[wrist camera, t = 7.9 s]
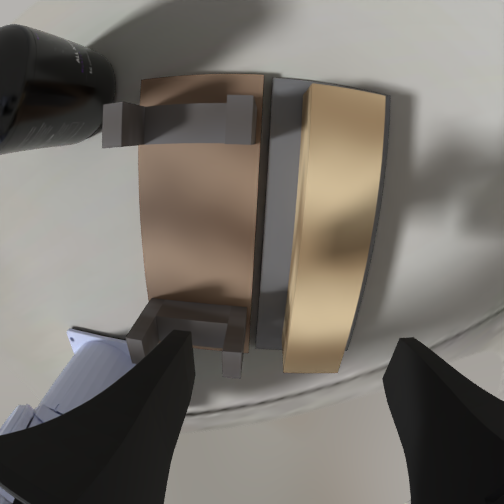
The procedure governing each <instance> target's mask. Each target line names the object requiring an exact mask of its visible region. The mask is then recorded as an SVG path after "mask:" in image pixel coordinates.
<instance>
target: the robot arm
mask: <svg viewBox="0 0 504 504" xmlns="http://www.w3.org/2000/svg"><path fill="white" fill-rule="evenodd" d="M67 335H68V338H69V341H70V344H71V346H72V349H73V352H74V356H73V357H72V358H71V360H70V361H69V363H68V364H67V365H66V367H65V368H64V369H63V371H62V372H61V374H60V375H59V376H58V378H57V379H56V381H55V382H54V383H53V385H52V386H51V388H50V389H49V390H48V392H47V393H46V395H45V396H44V398H43V399H42V401H41V402H40V404H39V405H38V407H37V408H35V409H33V408H32V407H31V406H30V405H28V404H26V405H18V406H17V407H16V408H15V409H14V411H13V412H12V413H11V414H10V416H9V417H8V418H7V420H6V421H5V422H4V424H3V425H2V427H1V428H0V504H164V498H165V492H166V486H167V480H168V474H169V469H170V464H171V460H172V456H173V452H174V449H175V445H176V443H177V440H178V437H179V433H180V430H181V427H182V424H183V421H184V418H185V415H186V412H187V409H188V406H189V403H190V400H191V395H192V390H193V384H194V379H195V367H194V357H193V346H192V334H191V331H182V330H172V331H171V332H170V333H169V334H168V335H167V336H166V337H165V338H164V339H163V340H162V341H161V342H160V343H159V344H158V345H157V346H156V347H155V348H154V349H153V350H152V351H150V352H149V353H148V354H147V355H146V356H145V357H144V358H143V359H142V360H141V361H140V362H139V363H137V364H133V363H132V361H131V357H130V354H129V350H128V346H127V342H126V340H120V339H115V338H110V337H105V336H101V335H96V334H92V333H87V332H83V331H79V330H75V329H68V330H67ZM383 384H384V389H385V394H386V398H387V402H388V405H389V408H390V411H391V414H392V417H393V420H394V423H395V426H396V428H397V431H398V434H399V437H400V440H401V443H402V446H403V449H404V453H405V457H406V462H407V468H408V474H409V482H410V493H411V504H504V401H502V400H500V399H498V398H497V397H495V396H493V395H492V394H490V393H488V392H486V391H485V390H483V389H482V388H480V387H479V386H477V385H476V384H474V383H473V382H472V381H470V380H469V379H467V378H466V377H465V376H463V375H462V374H461V373H459V372H458V371H457V370H455V369H454V368H453V367H452V366H450V365H449V364H448V363H447V362H445V361H444V360H443V359H442V358H440V357H439V356H438V355H437V354H435V353H434V352H433V351H431V350H430V349H429V348H428V347H426V346H425V345H424V344H422V343H421V342H419V341H418V340H417V339H415V338H413V337H412V338H399V341H398V343H397V346H396V348H395V351H394V353H393V356H392V358H391V360H390V363H389V365H388V367H387V370H386V372H385V374H384V376H383Z"/></svg>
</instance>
